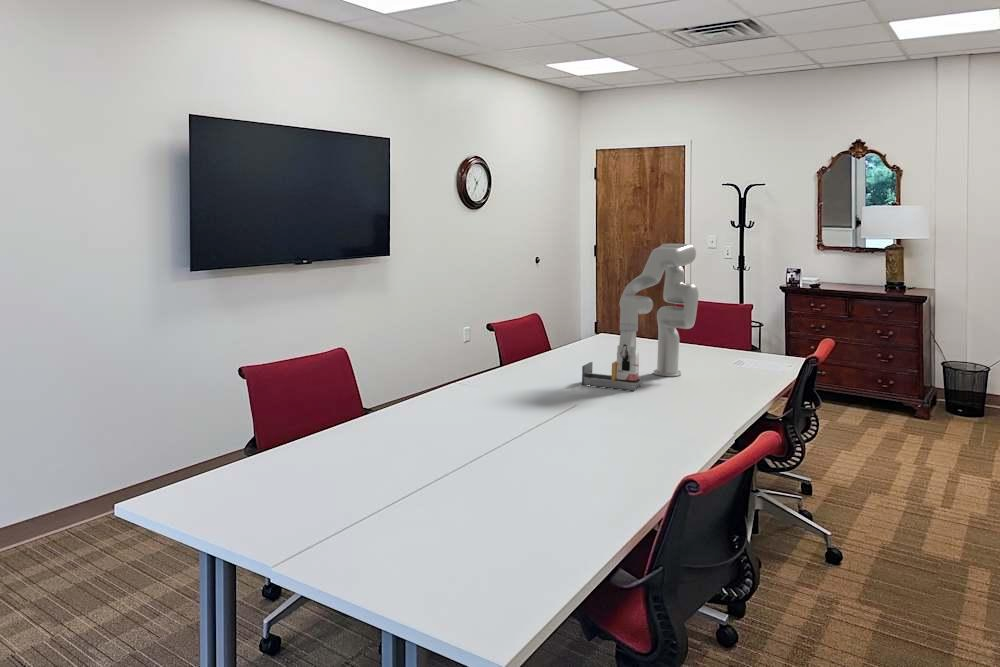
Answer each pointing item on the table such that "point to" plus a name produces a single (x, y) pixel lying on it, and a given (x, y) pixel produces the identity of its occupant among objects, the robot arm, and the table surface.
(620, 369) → the ink cartridge box
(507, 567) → the table surface
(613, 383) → the lane
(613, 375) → the block
